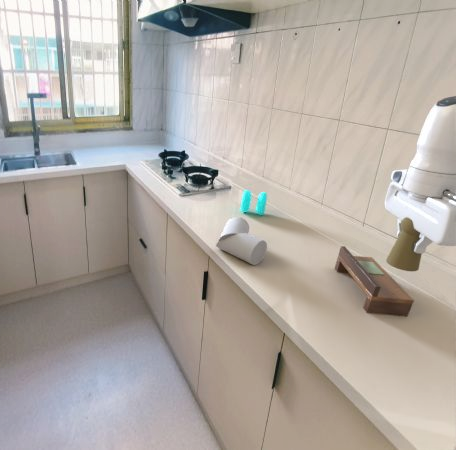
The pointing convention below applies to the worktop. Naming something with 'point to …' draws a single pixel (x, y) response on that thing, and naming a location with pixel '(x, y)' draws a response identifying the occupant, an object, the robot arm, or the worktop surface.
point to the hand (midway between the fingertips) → (409, 245)
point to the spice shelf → (375, 284)
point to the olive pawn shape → (405, 248)
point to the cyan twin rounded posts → (247, 199)
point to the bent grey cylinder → (242, 241)
